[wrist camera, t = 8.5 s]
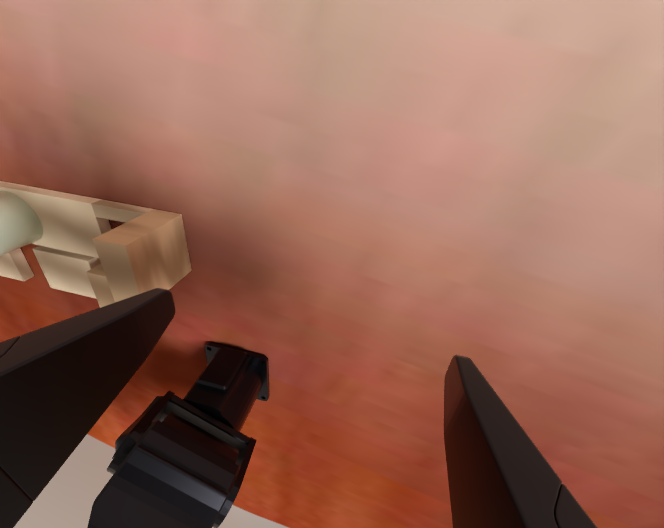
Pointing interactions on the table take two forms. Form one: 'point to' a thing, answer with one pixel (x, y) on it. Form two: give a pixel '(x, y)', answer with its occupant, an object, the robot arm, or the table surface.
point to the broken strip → (61, 272)
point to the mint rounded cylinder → (17, 223)
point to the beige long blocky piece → (112, 237)
